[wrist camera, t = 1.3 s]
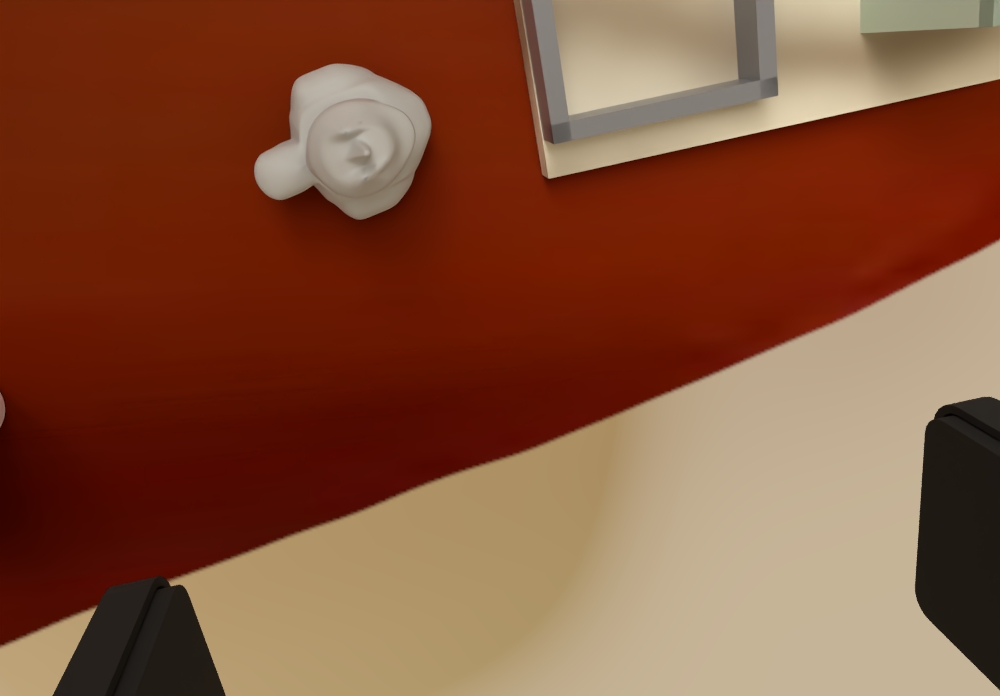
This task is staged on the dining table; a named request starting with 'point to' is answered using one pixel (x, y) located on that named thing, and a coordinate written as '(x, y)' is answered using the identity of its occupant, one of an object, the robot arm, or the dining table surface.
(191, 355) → the dining table surface
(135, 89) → the dining table surface
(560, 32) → the board
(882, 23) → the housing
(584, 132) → the socket
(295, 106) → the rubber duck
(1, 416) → the smoothie
